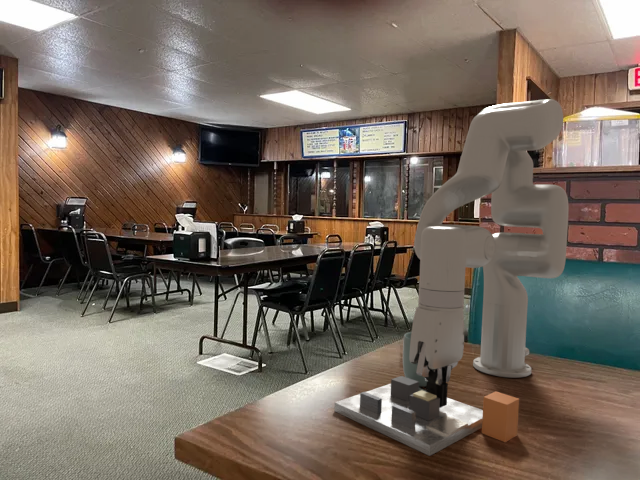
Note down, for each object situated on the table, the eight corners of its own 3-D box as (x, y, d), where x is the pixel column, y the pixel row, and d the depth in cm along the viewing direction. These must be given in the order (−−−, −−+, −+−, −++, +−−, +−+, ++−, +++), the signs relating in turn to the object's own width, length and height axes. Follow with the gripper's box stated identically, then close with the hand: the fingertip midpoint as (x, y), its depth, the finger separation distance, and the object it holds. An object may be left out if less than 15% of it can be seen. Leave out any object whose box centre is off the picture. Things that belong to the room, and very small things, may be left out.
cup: (440, 392, 96) (442, 342, 95) (401, 388, 97) (403, 339, 96) (438, 379, 103) (441, 333, 103) (402, 375, 105) (404, 330, 104)
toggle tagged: (419, 408, 83) (420, 388, 83) (439, 415, 80) (440, 395, 80) (408, 412, 81) (409, 392, 81) (428, 420, 78) (429, 400, 78)
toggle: (400, 391, 91) (401, 375, 91) (418, 397, 88) (418, 381, 88) (390, 395, 89) (391, 379, 89) (408, 401, 86) (408, 385, 86)
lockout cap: (493, 426, 81) (495, 391, 80) (517, 435, 78) (519, 398, 77) (481, 433, 78) (483, 396, 78) (505, 442, 75) (507, 404, 75)
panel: (398, 388, 97) (399, 369, 97) (491, 422, 82) (492, 399, 82) (334, 411, 85) (335, 389, 84) (429, 455, 70) (430, 429, 70)
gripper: (446, 292, 90) (442, 388, 91) (395, 299, 80) (391, 408, 81) (483, 298, 84) (478, 400, 85) (434, 307, 74) (429, 423, 75)
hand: (436, 404), depth 83 cm, fingers closed
